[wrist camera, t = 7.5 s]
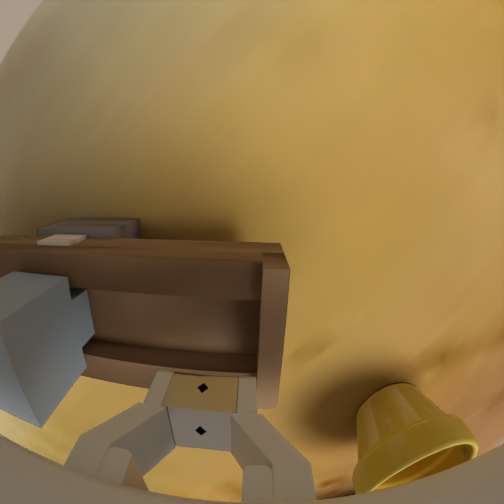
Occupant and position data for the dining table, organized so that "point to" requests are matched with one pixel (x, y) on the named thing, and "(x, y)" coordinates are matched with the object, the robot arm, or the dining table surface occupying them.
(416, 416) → the plant pot
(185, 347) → the beam
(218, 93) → the dining table surface
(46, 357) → the block
